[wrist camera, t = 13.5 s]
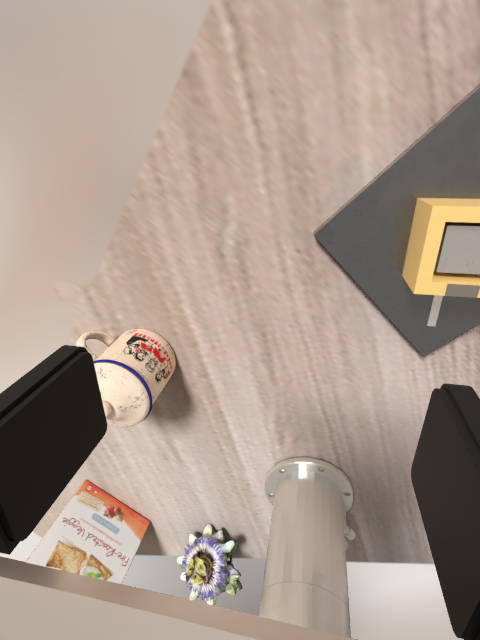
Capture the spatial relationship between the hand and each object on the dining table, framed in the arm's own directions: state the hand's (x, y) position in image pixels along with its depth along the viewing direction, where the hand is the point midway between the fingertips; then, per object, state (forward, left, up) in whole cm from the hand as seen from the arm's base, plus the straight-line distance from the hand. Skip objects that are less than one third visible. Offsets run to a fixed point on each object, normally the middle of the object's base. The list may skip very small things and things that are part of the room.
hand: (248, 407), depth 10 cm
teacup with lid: (+2, +27, -31) cm, 41 cm away
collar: (-11, -9, -29) cm, 32 cm away
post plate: (-11, -9, -30) cm, 33 cm away
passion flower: (-32, +47, -31) cm, 65 cm away
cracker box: (-15, +58, -31) cm, 67 cm away
